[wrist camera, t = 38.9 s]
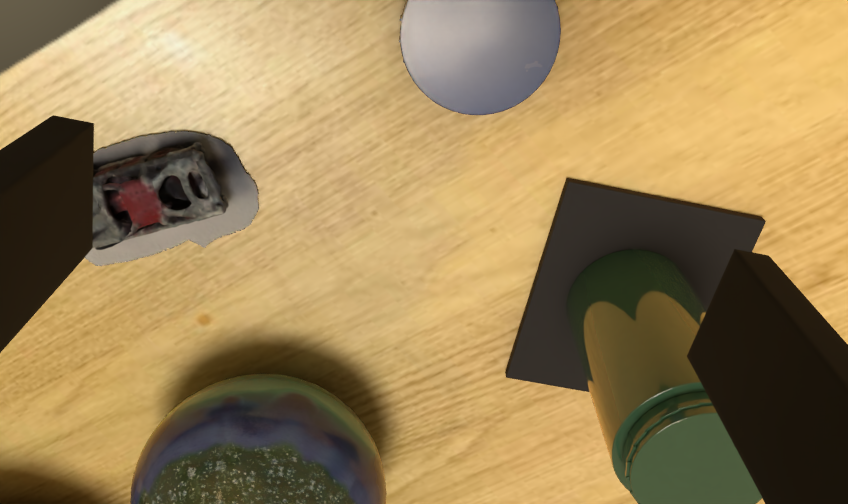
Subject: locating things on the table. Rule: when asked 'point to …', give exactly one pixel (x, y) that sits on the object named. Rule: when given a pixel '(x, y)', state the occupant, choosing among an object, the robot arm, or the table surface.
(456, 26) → the lid
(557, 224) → the mat
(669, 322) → the jar
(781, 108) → the table surface
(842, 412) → the robot arm
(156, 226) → the toy car
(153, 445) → the vase
